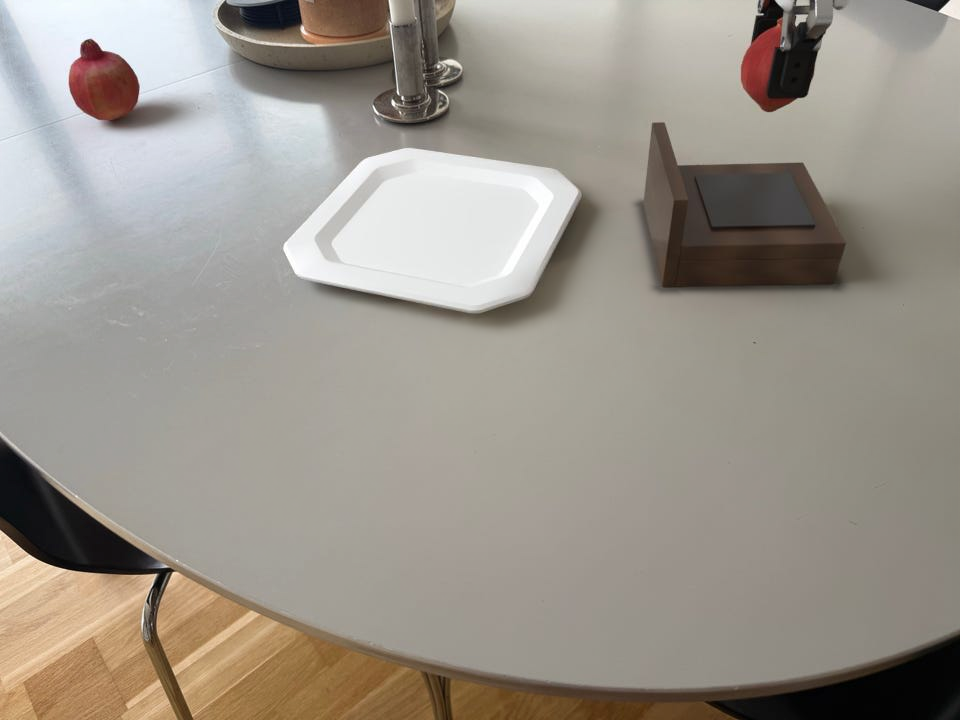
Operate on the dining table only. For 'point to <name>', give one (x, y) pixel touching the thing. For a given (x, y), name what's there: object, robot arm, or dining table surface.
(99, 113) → the fruit
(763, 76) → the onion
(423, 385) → the dining table surface
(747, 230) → the wooden bookend stand
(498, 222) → the plate
